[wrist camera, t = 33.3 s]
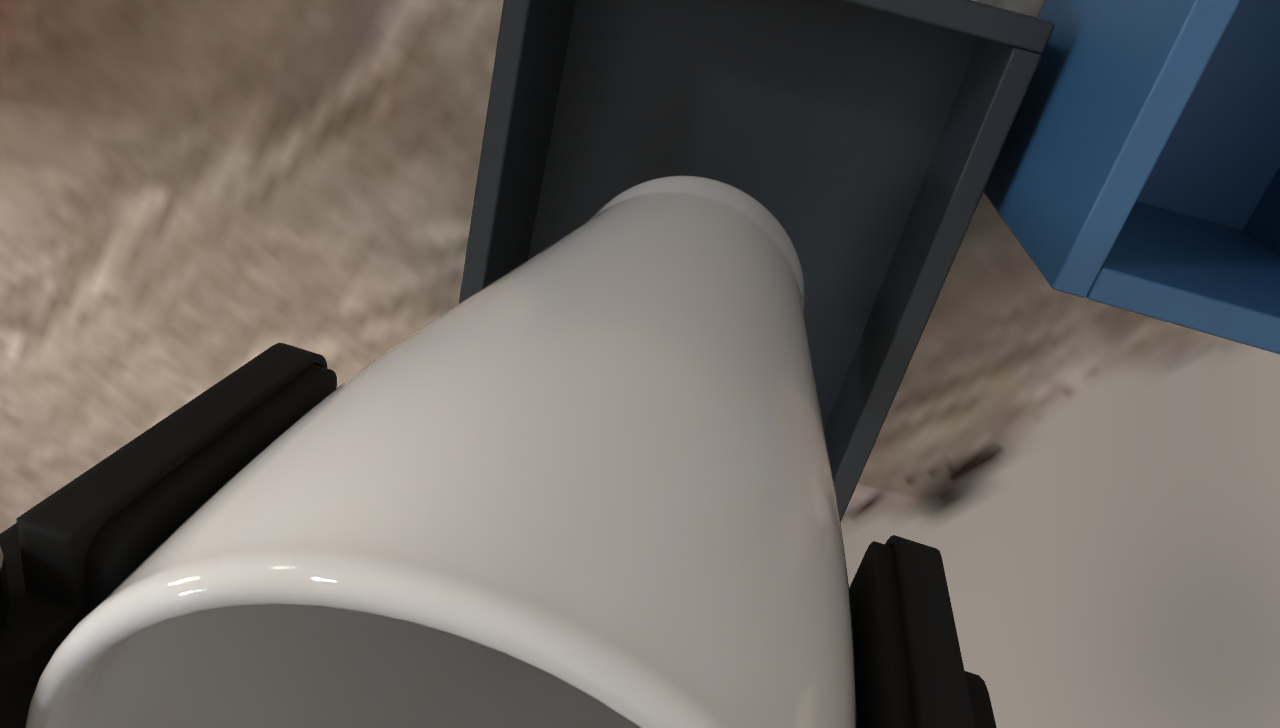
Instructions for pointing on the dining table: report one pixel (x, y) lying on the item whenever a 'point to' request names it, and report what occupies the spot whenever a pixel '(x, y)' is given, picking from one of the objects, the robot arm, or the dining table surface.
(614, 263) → the drinking glass
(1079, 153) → the blue bin
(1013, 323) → the dining table surface
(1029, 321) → the dining table surface
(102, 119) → the dining table surface
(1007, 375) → the dining table surface
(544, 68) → the tote
